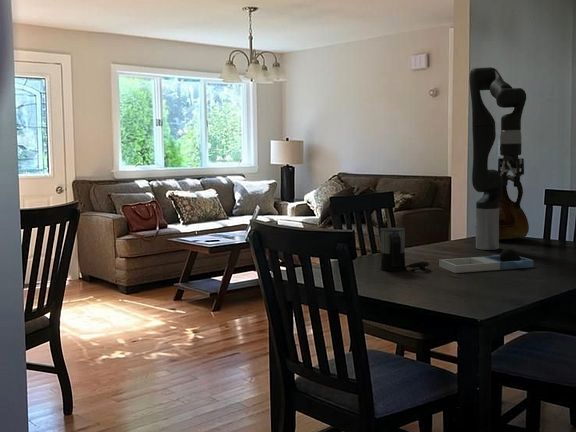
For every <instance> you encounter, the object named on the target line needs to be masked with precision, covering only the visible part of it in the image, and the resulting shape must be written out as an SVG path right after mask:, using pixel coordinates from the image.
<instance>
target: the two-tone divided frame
mask: <svg viewBox="0 0 576 432" xmlns="http://www.w3.org/2000/svg"><path fill="white" fill-rule="evenodd" d="M518 256H519V257H520V259H521V260H522V261H508V262H501V260H500V254H491V256H490V255H489V256H488V255H487V256H475V257H473V256H472V257H462V258H459V257H458V258H447V259H446V258H445V259H443V258H442V259H438V262H439V263H438V266H439V268H442V269H445V270H447V271H449V272H452V273H455V274H458V273H472V272H474V273H475V272H484V271H485V272H486V271H488V272H489V271H499V270H500V271H501V270H502V271H503V270H511V269H512V270H514V269H527V268H534V260H533V259H531V258H526V257H524V256H523V257H522V256H520V255H518Z"/></svg>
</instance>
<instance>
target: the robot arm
mask: <svg viewBox="0 0 576 432" xmlns="http://www.w3.org/2000/svg"><path fill="white" fill-rule="evenodd" d="M469 72H470V73H469V90H470V101H471V115H472V116H471V121H472V125H471V128H472V129H471V130H472V131H471V132H472V133H471V134H472V155H473V156H472V170H471V171H472V173H471V184H472V187H473V189H474V190H475V191H476V192H478V193H483V195H482V197H481V198H480V199H478V200H477V201H476V205H475V207H476V209H475V212H476V213H475V214H476V215H475V219H476V221H475V222H476V223H475V224H476V225H475V248H476V249H478V250H482V251H483V250H484V251H485V250H486V251H492V250H493V251H495V250H498V249H500V239H499V204H500V201H501V193H502V186H508V183H509V180H508V176H507V175H509V172H511V173H512V176H514V182H513V187H515V188H517V187H519V186H520V182H521V177H522V176H523V175H525V159H524V158H521V157H520V158H519V156H521V155H522V114H523V111H524V108H525V105H526V101H527V93H526V91H525V89H523V88H521V87H516V88H515V87H512V85H511V84H510V83H507V81H505V80H504V79H503V77H502V76H501V74H500V72H499V71H498V69H496V68H495V67H490V66H489V67H488V66H487V67H475V68H472V69H471V70H470V71H469ZM481 91H489V93H490V95H491V97H493V98H494V99H495V101H496V105H497V107H499V108H504V109H505V108H506V109H507V108H510V109H511V108H512V109H513V110H512V112H511V113H506V114H503V115H502V116H501V118H500V136H499V137H500V139H499V145H500V146H499V154H500V158H499V157H498V160H497V170H496V169H489V166H488V164H489V163H488V161H489V155H490V153H491V151H492V149H493V146H494V144H495V140H496V137H497V134H496V121H495V118H494V117H493V115H492V114H491V112H490V111H489V109H488V108H487V106H486V105H485V103H484V101H483V98H482V96H481V95H482V94H481ZM501 156H502V157H501Z"/></svg>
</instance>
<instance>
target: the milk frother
mask: <svg viewBox="0 0 576 432" xmlns="http://www.w3.org/2000/svg"><path fill="white" fill-rule="evenodd" d="M405 230H406V228H404V227H381V228H379V231H380V270H382V271H397V272H398V271H405V270H406V269H407V268H410V269H417V268H419V269H420V270H423V269H425V268H426V267H428V266H430V262H427V261H418V262H414V263H410V264H409V265H406V259H405V258H406V255H405V254H406V250H405V248H406V246H405V245H406V244H405V242H406V241H405V240H406V239H405Z"/></svg>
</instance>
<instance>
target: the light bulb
mask: <svg viewBox="0 0 576 432" xmlns="http://www.w3.org/2000/svg"><path fill="white" fill-rule="evenodd" d="M499 255H500V260H501V262H508V261H522V260H521V259H520V257H521V256H520V255H519V254H518V252H517V250H515V249H513V248H510V247H509V248H508V247H506V248H504V249H503V250H502V251H500V253H499ZM519 256H520V257H519Z"/></svg>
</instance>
